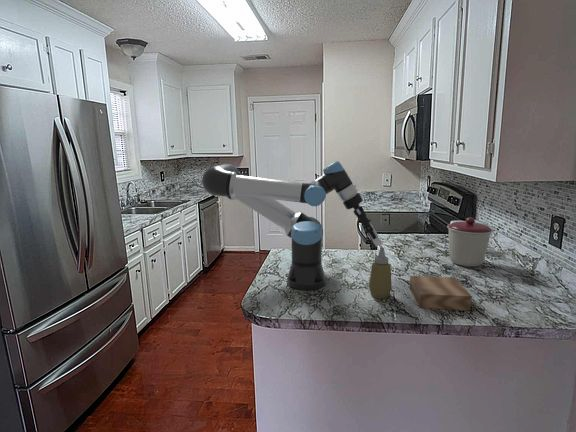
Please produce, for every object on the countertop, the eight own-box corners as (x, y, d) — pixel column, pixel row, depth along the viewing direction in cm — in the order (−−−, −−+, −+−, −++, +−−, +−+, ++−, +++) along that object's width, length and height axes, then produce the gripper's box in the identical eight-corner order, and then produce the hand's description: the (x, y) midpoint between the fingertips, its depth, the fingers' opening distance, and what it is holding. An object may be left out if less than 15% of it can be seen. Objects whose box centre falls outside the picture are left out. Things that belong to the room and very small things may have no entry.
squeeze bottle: (393, 293, 128) (396, 246, 124) (388, 302, 121) (391, 252, 117) (371, 289, 132) (373, 243, 128) (365, 298, 125) (367, 249, 121)
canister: (497, 265, 156) (502, 218, 152) (474, 273, 147) (479, 224, 142) (458, 254, 171) (463, 211, 167) (435, 261, 162) (439, 216, 157)
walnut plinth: (419, 307, 117) (420, 293, 116) (409, 288, 133) (410, 275, 132) (470, 310, 115) (471, 296, 114) (453, 290, 131) (455, 277, 130)
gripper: (360, 196, 129) (389, 244, 131) (356, 188, 154) (381, 229, 156) (342, 206, 131) (372, 253, 133) (341, 197, 155) (366, 237, 157)
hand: (377, 240), depth 144 cm, fingers open, 13 cm apart
